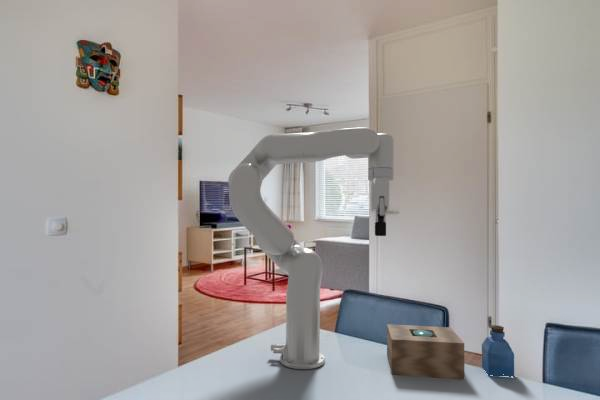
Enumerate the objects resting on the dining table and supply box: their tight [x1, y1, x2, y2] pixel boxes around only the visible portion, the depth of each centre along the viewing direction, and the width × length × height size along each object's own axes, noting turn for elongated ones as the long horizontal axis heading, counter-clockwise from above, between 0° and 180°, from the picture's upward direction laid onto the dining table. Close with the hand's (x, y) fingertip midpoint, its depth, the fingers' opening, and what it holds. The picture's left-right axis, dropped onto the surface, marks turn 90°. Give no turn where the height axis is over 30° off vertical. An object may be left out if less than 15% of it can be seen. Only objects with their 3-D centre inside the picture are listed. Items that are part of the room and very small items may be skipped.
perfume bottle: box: [481, 324, 515, 378], centre depth 102 cm, size 6×6×12 cm
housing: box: [386, 323, 465, 380], centre depth 106 cm, size 18×14×9 cm
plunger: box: [413, 330, 433, 337], centre depth 106 cm, size 5×5×9 cm
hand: (380, 235), depth 117 cm, fingers closed
